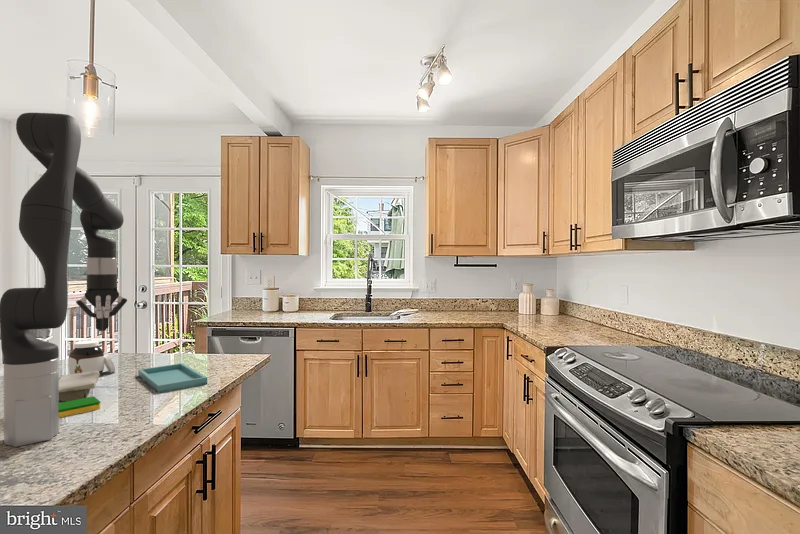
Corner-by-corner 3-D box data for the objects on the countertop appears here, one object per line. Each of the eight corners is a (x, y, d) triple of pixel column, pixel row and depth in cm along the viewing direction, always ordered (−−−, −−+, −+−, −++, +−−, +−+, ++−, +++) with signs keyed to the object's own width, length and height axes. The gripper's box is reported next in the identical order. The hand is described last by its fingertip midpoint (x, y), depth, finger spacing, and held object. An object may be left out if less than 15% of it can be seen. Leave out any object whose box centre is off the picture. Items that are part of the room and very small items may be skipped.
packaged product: (100, 384, 135) (60, 390, 130) (100, 369, 135) (60, 374, 130) (95, 399, 119) (50, 407, 114) (94, 382, 119) (49, 389, 114)
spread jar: (64, 377, 143) (64, 343, 143) (97, 369, 154) (96, 337, 154) (90, 380, 140) (90, 345, 139) (122, 372, 150) (122, 339, 150)
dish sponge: (100, 410, 113) (100, 401, 113) (32, 425, 102) (32, 415, 102) (94, 404, 117) (94, 395, 117) (28, 417, 107) (28, 408, 107)
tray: (207, 384, 136) (207, 377, 136) (158, 393, 126) (158, 385, 126) (182, 369, 155) (182, 363, 155) (138, 376, 145) (138, 369, 145)
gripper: (75, 273, 120) (76, 334, 120) (130, 272, 129) (130, 329, 129) (72, 273, 126) (72, 331, 126) (125, 272, 135) (125, 327, 135)
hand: (102, 330), depth 127 cm, fingers closed
